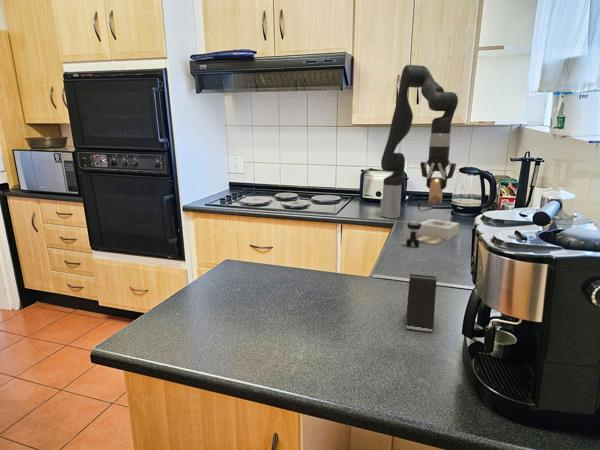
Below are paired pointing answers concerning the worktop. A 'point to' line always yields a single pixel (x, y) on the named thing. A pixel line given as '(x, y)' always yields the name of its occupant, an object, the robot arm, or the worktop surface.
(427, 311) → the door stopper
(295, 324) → the worktop surface
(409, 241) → the black stand
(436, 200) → the amber cylinder
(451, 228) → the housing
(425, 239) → the pad
